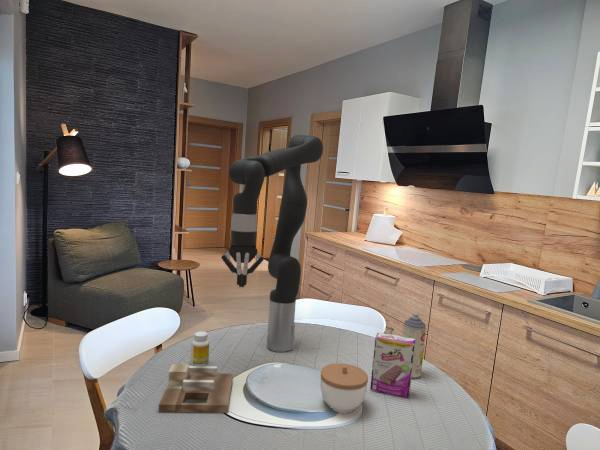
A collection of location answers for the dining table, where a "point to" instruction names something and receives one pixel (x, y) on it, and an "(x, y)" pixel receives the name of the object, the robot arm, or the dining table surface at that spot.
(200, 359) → the supplement bottle
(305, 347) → the dining table surface
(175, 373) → the birch block
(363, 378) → the lidded bowl
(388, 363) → the candy bar box
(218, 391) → the channel deck
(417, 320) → the aerosol can
